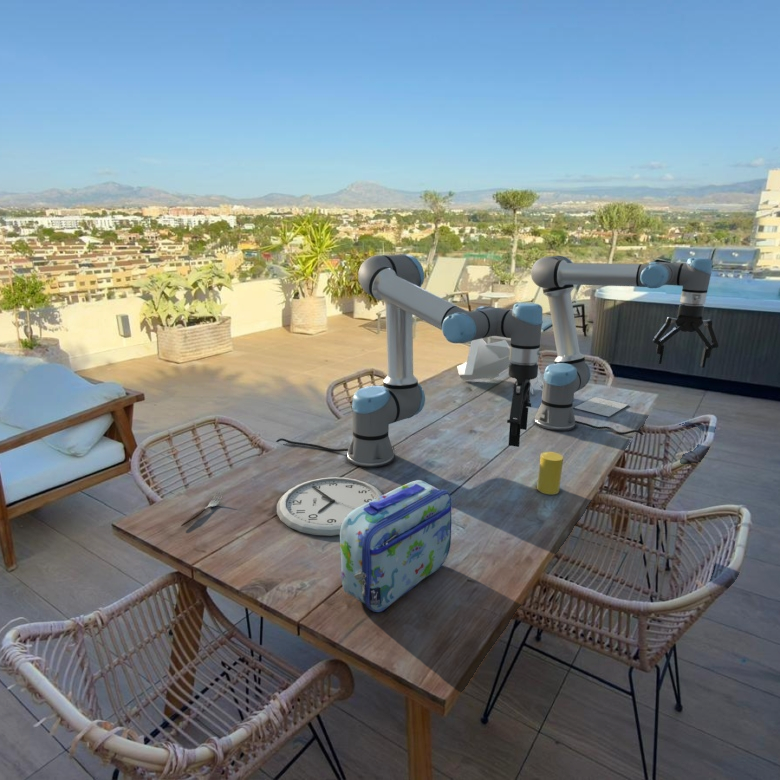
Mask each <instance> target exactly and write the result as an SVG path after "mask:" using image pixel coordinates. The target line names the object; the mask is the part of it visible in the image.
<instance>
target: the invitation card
mask: <svg viewBox="0 0 780 780" xmlns="http://www.w3.org/2000/svg"><path fill="white" fill-rule="evenodd" d="M628 406H629V404H627V403H623V402H618V401H614V400H609V399H605V398H601V397H596V396H593V397H592V398H590V399H588V400H586V401H584V402H582V403H580V404H578V405H575V406H574V407H573V409H575V410H581V411H584V412H587V413H593V414H596V415H600V416H604V417H608V418H609V417H611V416H613V415H614V414H616V413H617V412H619V411H621V410H623V409H624V408H626V407H628Z"/></svg>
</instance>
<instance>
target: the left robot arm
mask: <svg viewBox="0 0 780 780" xmlns="http://www.w3.org/2000/svg"><path fill="white" fill-rule="evenodd" d="M357 278H358V283H359V285H360V287H361V289H362V290H363V292H365V293H366V294H368V295H369V296H370V297H372V298H374V299H376V300H378V301H383V303H385V328H386V329H385V330H386V361H387V362H386V363H387V368H386V369H387V375H386V377H385V378H384V379H383V381H382V384H383V385H372V386H371V385H367V386H364V387H361V388H358V390H356V391H355V392H354V394H353V396H352V404H351V408H352V437H351V441H350V443H349V446H348V448H330V447H326V446H322V445H319V444H315V443H314V444H312V443H307V442H299V441H293V440H288V439H286V438H283V437H281V438H278V439H276V440H275V443H279V442H285V443H288V444H293V445H300V446H306V447H313V448H318V449H322V450H326V451H329V452H347V453H346V454H347V455H346V457H347V458H346V459H347V461H348V462H349V464H352V465H354V466H356V467H361V468H366V469H367V468H370V469H371V468H373V469H374V468H381V467H384V466H387V465H389V464H391V463H392V462H393V461H394V459H395V457H394V456H395V452H394V451H395V445H392V443H391V440H390V437H389V436H390V435H389V432H390V431H389V430H390V429H389V428H390V427H389V426H390V425H391V424H394V423H397V422H401V421H403V420H407V419H411V418H412V417H414V416H417V415H418V414H419V413H420V412H422V411H423V408H424V407H425V403H426V393H425V391H424V389H423V387H422V385H421V384H419V379H418V378H417V377H416V376H415V375H414V330H413V329H414V327H413V325H414V323H413V322H414V321H413V319H414V318H413V316H415V317H416V318H418V319H419V320H422V321H424V322H426V323H427V324H429V325H431V326H433V327H435V328H437V329H439V330H440V331H442V335H443V336H444V338H445V339H446V341H448V342H449V343H452V344H466V343H469V342H471V341H473V340H477V339H486V338H490V337H500V338H501V337H502V338H507V339H510V344H509V346H510V357H509V360H510V361H511V362H510V363H509V367H508V376H509V377H510V378H513V379H515V380H516V381H514V383H513V385H512V386H513V387H512V389H513V390H512V391H513V392H512V399H511V405H510V413H509V419H507V420H506V423H507V424H509V432H508V434H509V435H508V446H509V447H517V448H519V447H520V442H521V441H520V440H521V430H524V431H527V427H528V418H529V408H532V403H531V398H530V397H531V392H530V382H531V380H535V379H537V374H538V367H539V364H538V363H539V361H540V356H541V355H542V354H543V352H542V351H541V350H540V347H541V335H542V326H543V323H544V322H543V321H544V320H543V311H544V310H543V306H542V305H540V304H539V303H535V302H517V303H515V304H514V305H513V307H512V310H510V309H508V308H500V307H494V306H491V305H489V306H478V307H477V308H476V309H475V310H471V311H469V310H466V309H464V308H462V307H459V306H457V305H456V304H454V303H452V302H450V301H448V300H446V299H444V298H442V297H440V296H439V295H436V294H435V293H432V292H431V291H428V290H427V289H424V288H422V285H424V282H425V271H424V267H423V266H422V264H421V262H420V261H419V259H417V258H416V257H415V256H414V255H411V254H403V253H399V254H380V255H378V254H377V255H375V254H374V255H373V256H370V257H368V258H367V259H365V260H364V261H363V262H362V263H361V265H360V267H359V270H358V273H357Z"/></svg>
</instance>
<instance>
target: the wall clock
mask: <svg viewBox="0 0 780 780" xmlns="http://www.w3.org/2000/svg"><path fill="white" fill-rule="evenodd" d="M384 494H385V493H383V492H382V491H381V490H380V489H379V488H377V487H376V486H374V485H372V484H371V483H369V482H365V481H362V480H359V479H355V478H349V477H338V476H337V477H335V476H333V477H332V476H331V477H322V478H317V479H312V480H307V481H305V482H302V483H299V484H297V485H295V486H293V487H292V488H290V489H288V490H287V491H286V492H285V493H284V494H283V495H281V496H280V498H279V499H278V502H277V503H276V515H277V517H278V518H279V520H280V521H281V522H282V523H283V524H285V525H286V526H287V527H288V528H290V529H293V530H295V531H297V532H299V533H303V534H308V535H312V536H327V537H328V536H329V537H331V536H332V537H333V536H340V530H341V526H342V523H343V521H344V519H345V518H346V516H347V515H348V514H349V513H350V512H351V511H353V510H354V509H356V508H358V507H360V506H362V505H364V504H366V503H368V502H370V501H372V500H374V499H376V498H378V497H380V496H382V495H384Z"/></svg>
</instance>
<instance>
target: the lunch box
mask: <svg viewBox="0 0 780 780" xmlns="http://www.w3.org/2000/svg"><path fill="white" fill-rule="evenodd" d="M383 494H384V495H382V496H380V497H378V498H376V499H374V500H372V501H370V502H368V503H366V504H364V505H362V506H360V507H358V508H356V509H354V510H353V511H351V512H350V513H349V514H348V515H347V516H346V518H345V519H344V521H343V523H342V526H341V530H340V535H339V551H340V574H341V576H340V577H341V585H342V588H343V589H342V590H343V591H344V593H346V594H348V595H350V596H352V597H353V598H355V599H357V600H358V601H359V602H361V603H362V604H364V605H365V606H366V608H367V609H369V610H370V611H371V612H374V613H381V612H384V611H385V610H386V609H387V608H389V607H390V606H391V605H392V604H393V603H395V602H396V601H397V600H399V599H400V598H401V597H402V596H404V595H405V594H407V593H408V592H410V591H411V590H412V589H413V588H415V587H416V586H417V585H418V584H419V583H420V582H421V581H423V580H425V579H426V578H427V577H429V576H430V575H432V574H434V573H435V572H436V571H438V570H439V569H440V568H441V567H442V566H443V565H444V563H445V562H446V560H447V558H448V556H449V553H450V550H451V549H450V548H451V545H452V543H451V542H452V497H451V494H450V492H449V491H448V490H446V489H438V488H437V487H435V486H434V485H431V484H429V483H427V482H426V481H424V480H421V479H416V480H413V481H410V482H408V483H405V484H403V485H401V486H399V487H397V488H394V489H393V490H390V491H388V492H387V493H383Z"/></svg>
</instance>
